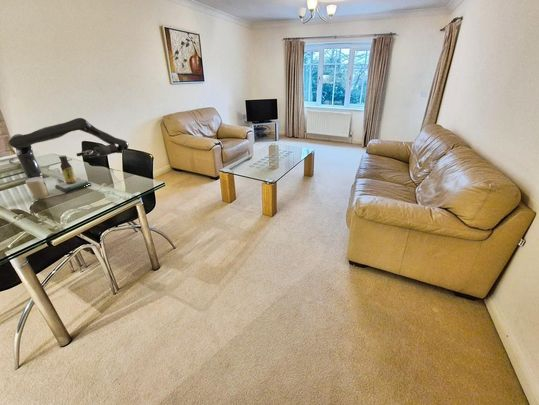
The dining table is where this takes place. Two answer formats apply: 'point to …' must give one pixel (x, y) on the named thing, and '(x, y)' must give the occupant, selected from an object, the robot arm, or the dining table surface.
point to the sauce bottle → (67, 170)
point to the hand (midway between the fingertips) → (79, 156)
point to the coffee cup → (37, 187)
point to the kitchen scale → (72, 186)
